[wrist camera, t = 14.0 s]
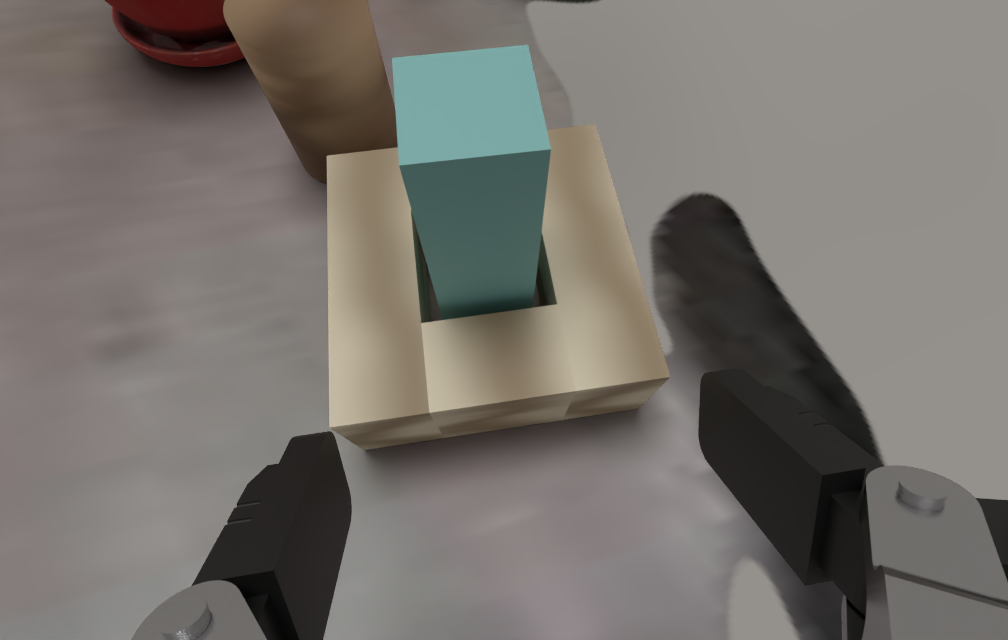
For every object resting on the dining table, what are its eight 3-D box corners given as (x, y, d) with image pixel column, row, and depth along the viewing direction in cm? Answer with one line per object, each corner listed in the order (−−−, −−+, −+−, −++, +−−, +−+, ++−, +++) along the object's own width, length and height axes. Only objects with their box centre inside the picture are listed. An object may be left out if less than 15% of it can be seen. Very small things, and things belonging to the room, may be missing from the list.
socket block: (364, 450, 23) (329, 427, 19) (355, 217, 28) (326, 155, 24) (638, 408, 24) (670, 377, 19) (581, 189, 29) (595, 124, 25)
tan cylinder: (282, 173, 30) (196, 31, 21) (326, 99, 32) (264, -54, 24) (379, 197, 29) (329, 60, 21) (417, 119, 31) (385, -31, 23)
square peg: (449, 345, 25) (399, 165, 13) (442, 274, 27) (392, 58, 15) (529, 334, 25) (551, 149, 13) (517, 265, 27) (528, 45, 15)
